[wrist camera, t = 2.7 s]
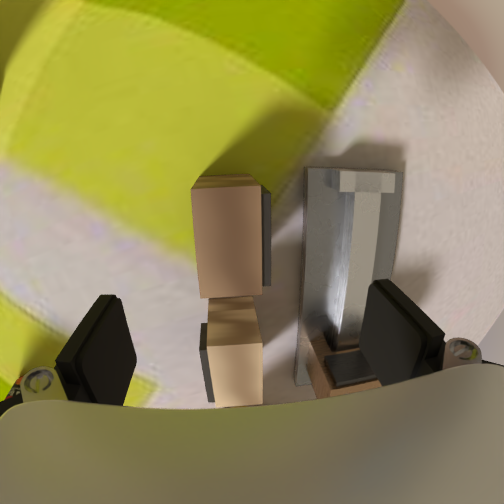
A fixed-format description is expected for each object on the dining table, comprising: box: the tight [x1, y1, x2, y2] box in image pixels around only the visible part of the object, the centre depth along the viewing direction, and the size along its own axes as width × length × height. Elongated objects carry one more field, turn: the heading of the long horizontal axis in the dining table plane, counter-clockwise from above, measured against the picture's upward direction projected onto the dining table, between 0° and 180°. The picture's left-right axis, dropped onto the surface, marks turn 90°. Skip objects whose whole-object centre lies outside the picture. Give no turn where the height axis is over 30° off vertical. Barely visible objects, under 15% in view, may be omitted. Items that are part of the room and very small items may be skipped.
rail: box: [294, 167, 403, 399], centre depth 24 cm, size 23×9×8 cm, turn 1°
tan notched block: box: [199, 296, 263, 407], centre depth 25 cm, size 5×7×7 cm, turn 1°
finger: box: [191, 174, 271, 298], centre depth 21 cm, size 5×7×7 cm, turn 1°
